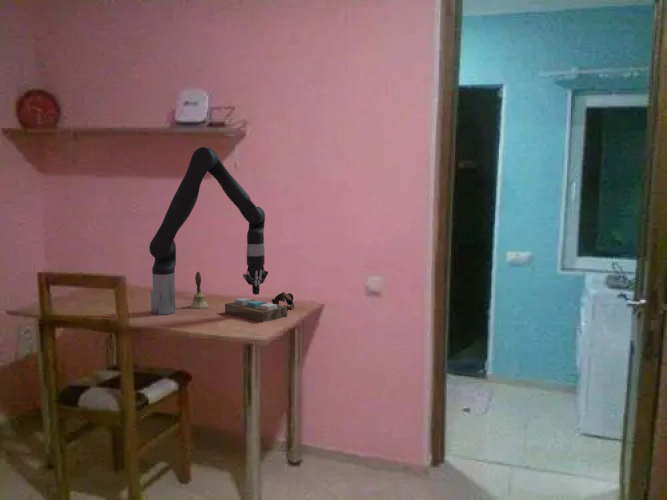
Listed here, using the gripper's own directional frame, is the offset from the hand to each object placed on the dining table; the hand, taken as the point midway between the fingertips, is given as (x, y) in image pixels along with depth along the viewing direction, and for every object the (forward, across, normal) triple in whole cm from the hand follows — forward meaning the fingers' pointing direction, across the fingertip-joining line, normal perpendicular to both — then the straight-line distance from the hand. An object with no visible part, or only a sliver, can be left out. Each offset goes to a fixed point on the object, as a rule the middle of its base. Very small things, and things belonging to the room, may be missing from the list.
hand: (255, 294), depth 262 cm
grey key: (+6, 0, -8) cm, 10 cm away
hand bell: (+9, +7, -30) cm, 32 cm away
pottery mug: (+9, -18, 0) cm, 20 cm away
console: (+9, 0, 0) cm, 9 cm away
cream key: (+6, 0, +8) cm, 10 cm away
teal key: (+6, 0, 0) cm, 6 cm away
